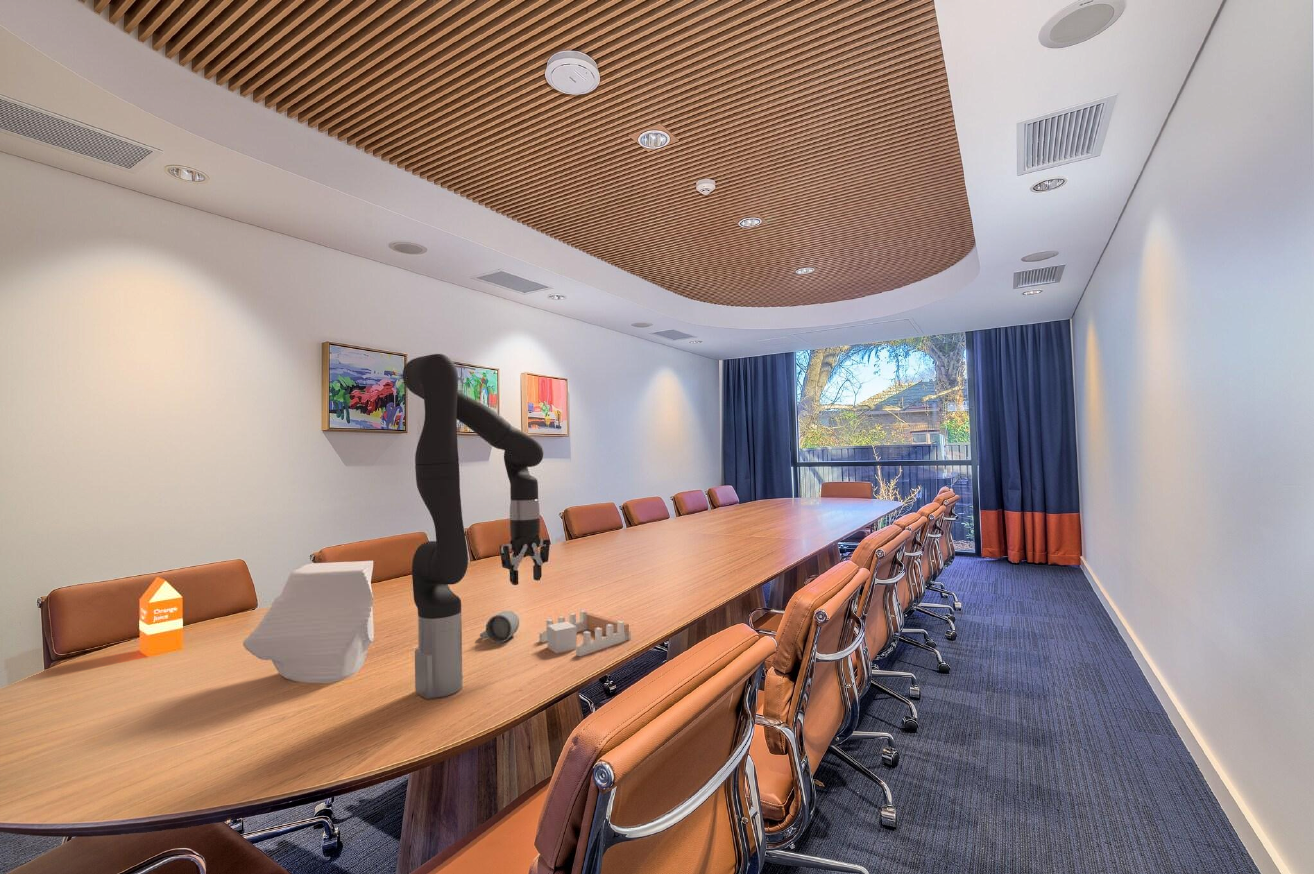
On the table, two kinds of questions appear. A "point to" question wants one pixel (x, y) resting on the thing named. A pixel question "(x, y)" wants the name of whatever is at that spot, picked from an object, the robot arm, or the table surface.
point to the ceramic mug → (501, 627)
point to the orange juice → (160, 619)
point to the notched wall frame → (599, 625)
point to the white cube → (561, 637)
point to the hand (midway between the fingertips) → (526, 582)
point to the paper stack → (318, 623)
